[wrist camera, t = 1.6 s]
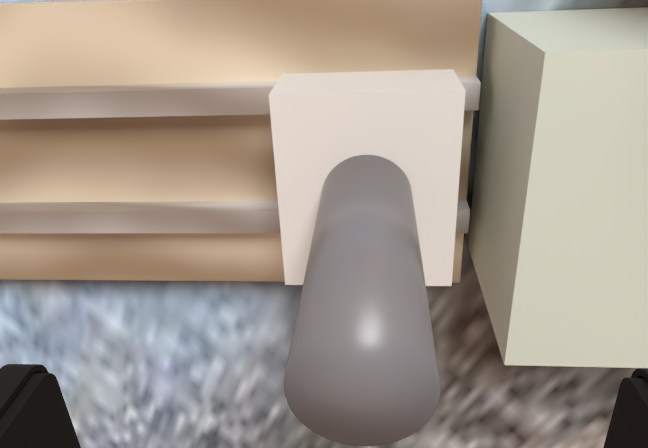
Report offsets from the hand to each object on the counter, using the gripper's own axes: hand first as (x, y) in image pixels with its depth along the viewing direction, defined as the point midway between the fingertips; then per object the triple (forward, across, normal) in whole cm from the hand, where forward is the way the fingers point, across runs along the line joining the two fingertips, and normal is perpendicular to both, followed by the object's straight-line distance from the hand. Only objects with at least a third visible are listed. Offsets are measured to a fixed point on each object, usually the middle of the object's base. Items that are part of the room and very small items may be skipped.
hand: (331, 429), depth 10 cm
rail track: (+16, +8, +1) cm, 18 cm away
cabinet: (+16, -9, +1) cm, 18 cm away
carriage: (+13, -1, +1) cm, 13 cm away
